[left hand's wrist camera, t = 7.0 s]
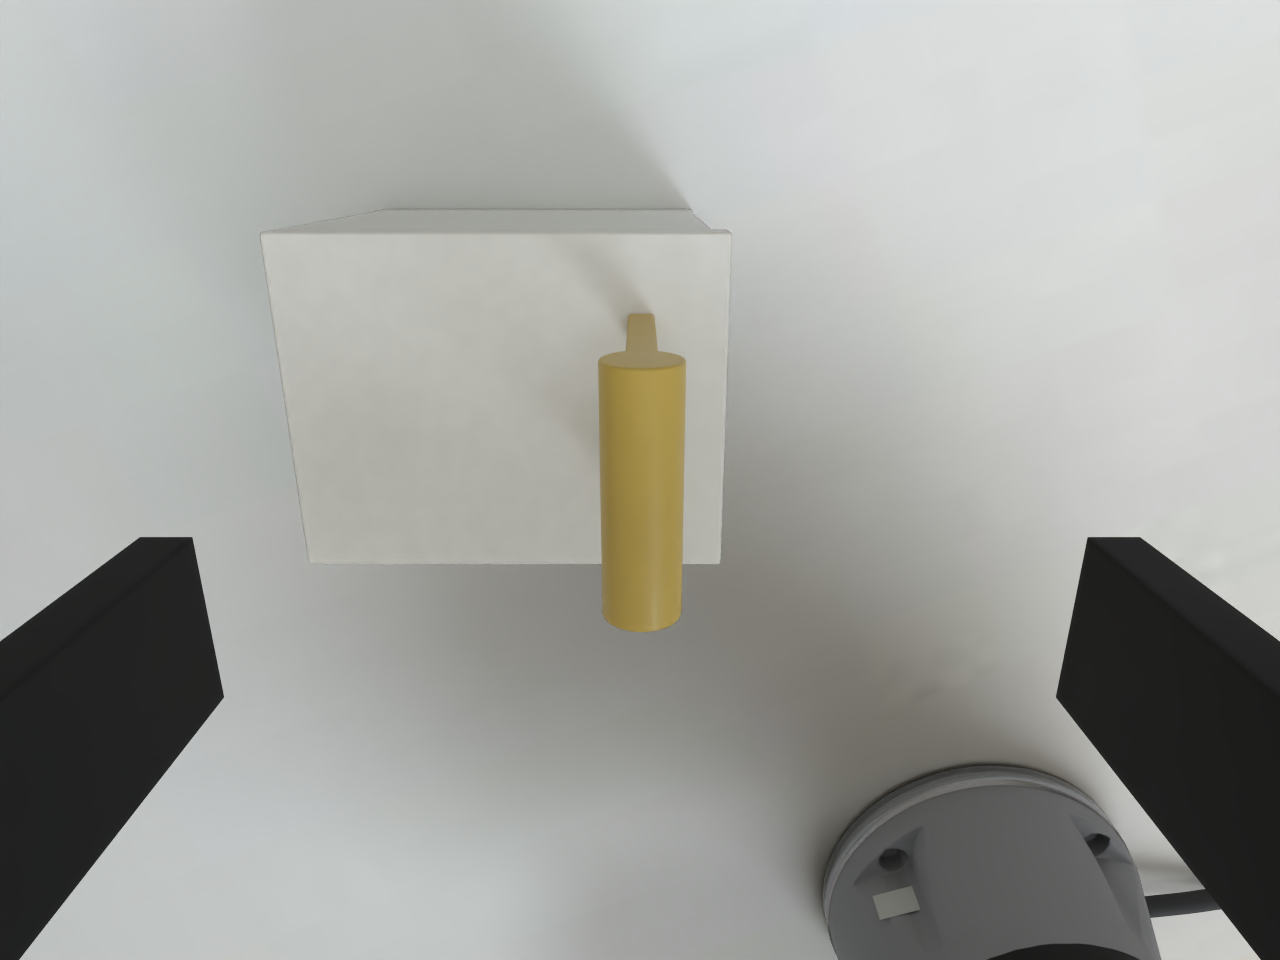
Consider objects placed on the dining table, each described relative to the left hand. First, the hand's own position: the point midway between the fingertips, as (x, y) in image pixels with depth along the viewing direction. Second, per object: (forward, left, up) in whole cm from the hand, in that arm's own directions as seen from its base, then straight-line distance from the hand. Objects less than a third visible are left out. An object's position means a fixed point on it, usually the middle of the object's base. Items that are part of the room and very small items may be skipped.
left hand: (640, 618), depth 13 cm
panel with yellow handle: (+4, 0, -12) cm, 13 cm away
